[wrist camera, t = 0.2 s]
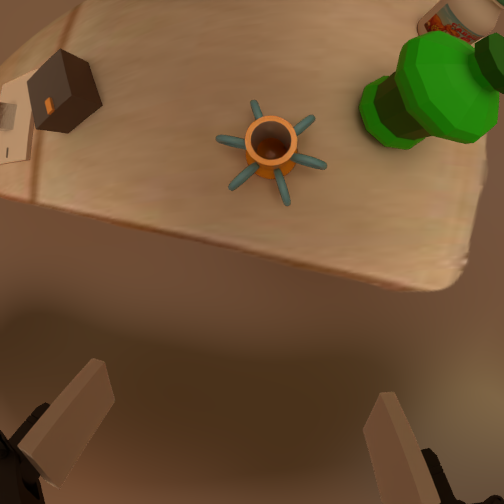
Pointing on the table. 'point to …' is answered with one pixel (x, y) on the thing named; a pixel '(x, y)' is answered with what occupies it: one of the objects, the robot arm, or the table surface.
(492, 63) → the plastic bottle
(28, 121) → the board
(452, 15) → the milk bottle
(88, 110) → the dark grey block
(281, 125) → the orange tube with rings
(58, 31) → the table surface
